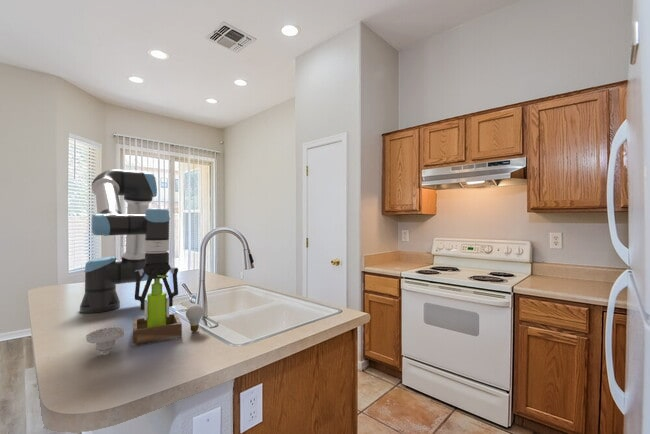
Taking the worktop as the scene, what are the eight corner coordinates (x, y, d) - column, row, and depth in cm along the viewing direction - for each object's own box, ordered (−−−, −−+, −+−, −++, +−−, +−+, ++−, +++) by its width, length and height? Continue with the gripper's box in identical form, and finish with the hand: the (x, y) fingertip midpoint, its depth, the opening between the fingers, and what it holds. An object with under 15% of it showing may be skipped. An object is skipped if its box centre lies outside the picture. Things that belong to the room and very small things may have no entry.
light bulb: (182, 332, 114) (183, 304, 114) (198, 327, 118) (198, 301, 119) (190, 336, 110) (190, 307, 110) (206, 331, 114) (206, 304, 115)
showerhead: (111, 335, 91) (78, 335, 91) (111, 360, 91) (77, 360, 91) (132, 324, 100) (102, 324, 101) (132, 347, 100) (101, 347, 101)
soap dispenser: (160, 334, 107) (160, 276, 107) (143, 333, 109) (143, 275, 109) (172, 329, 113) (172, 273, 113) (155, 327, 114) (155, 272, 115)
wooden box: (132, 333, 113) (132, 319, 113) (176, 326, 121) (176, 313, 121) (132, 346, 101) (132, 331, 101) (181, 338, 108) (181, 323, 108)
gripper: (124, 254, 103) (124, 325, 103) (188, 251, 113) (187, 316, 113) (125, 252, 109) (124, 319, 109) (185, 249, 119) (184, 310, 119)
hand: (156, 317), depth 111 cm, fingers open, 6 cm apart
